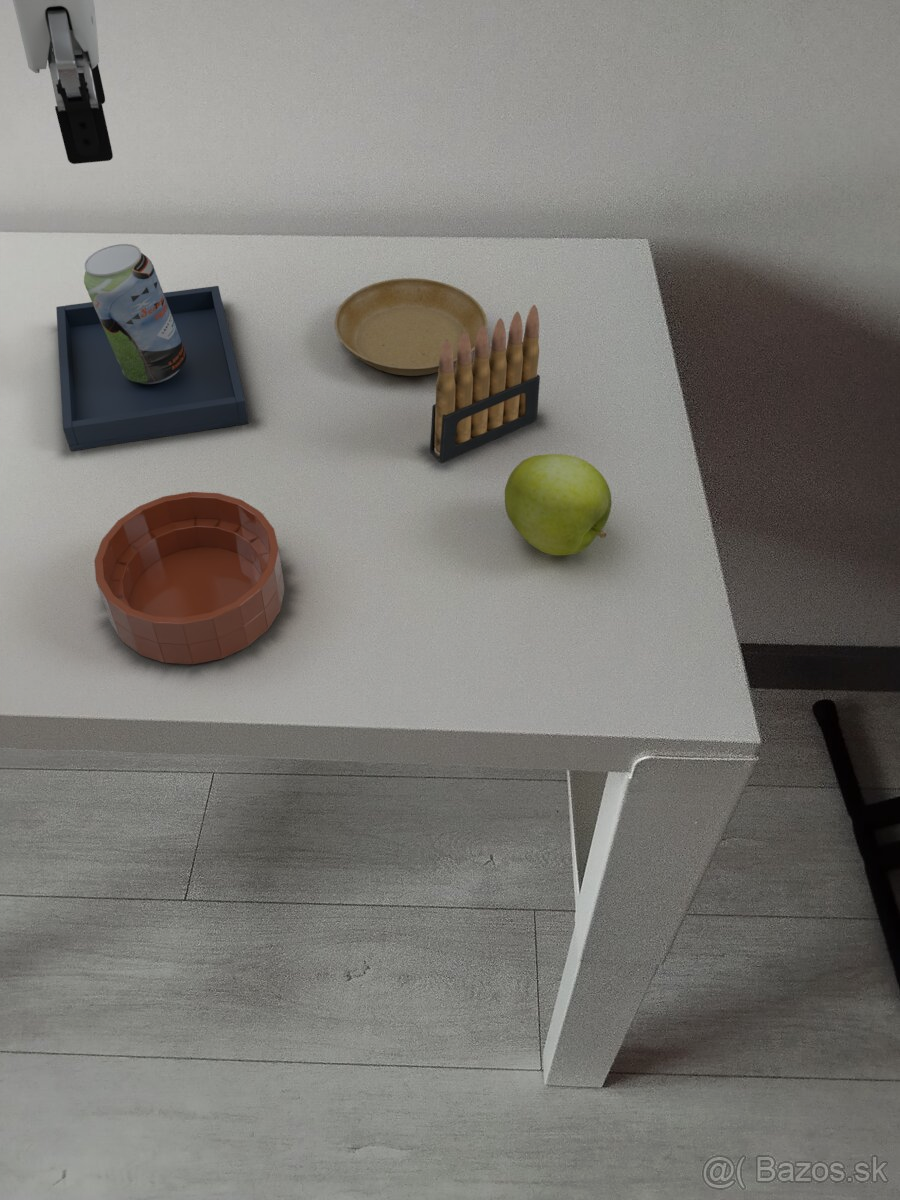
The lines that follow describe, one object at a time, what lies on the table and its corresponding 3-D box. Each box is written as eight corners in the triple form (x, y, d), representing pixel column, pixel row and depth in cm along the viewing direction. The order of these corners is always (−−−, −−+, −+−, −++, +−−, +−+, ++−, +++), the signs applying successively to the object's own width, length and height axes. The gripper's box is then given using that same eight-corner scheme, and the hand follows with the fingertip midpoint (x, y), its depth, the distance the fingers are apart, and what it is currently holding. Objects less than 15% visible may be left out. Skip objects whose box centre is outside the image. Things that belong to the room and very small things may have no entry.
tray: (70, 451, 91) (62, 428, 89) (63, 329, 103) (56, 306, 101) (248, 423, 94) (245, 400, 92) (222, 307, 106) (218, 285, 104)
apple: (577, 595, 82) (590, 523, 75) (483, 543, 85) (488, 470, 79) (628, 538, 86) (644, 466, 80) (536, 491, 89) (545, 418, 83)
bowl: (116, 682, 75) (100, 639, 71) (105, 553, 83) (90, 508, 79) (297, 646, 78) (291, 603, 74) (269, 524, 86) (262, 479, 82)
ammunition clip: (525, 409, 96) (536, 296, 87) (537, 420, 95) (550, 307, 86) (429, 451, 92) (430, 337, 83) (440, 463, 91) (443, 349, 82)
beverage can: (182, 393, 96) (157, 278, 86) (102, 391, 96) (68, 275, 86) (195, 352, 100) (172, 237, 90) (118, 349, 100) (88, 235, 90)
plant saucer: (517, 343, 103) (518, 321, 101) (411, 411, 96) (411, 388, 94) (411, 283, 109) (410, 261, 107) (304, 342, 102) (302, 320, 100)
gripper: (-31, -167, 72) (35, 88, 85) (-38, -89, 61) (39, 190, 74) (81, -170, 73) (130, 81, 86) (93, -95, 63) (147, 179, 75)
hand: (88, 131), depth 80 cm, fingers open, 9 cm apart
